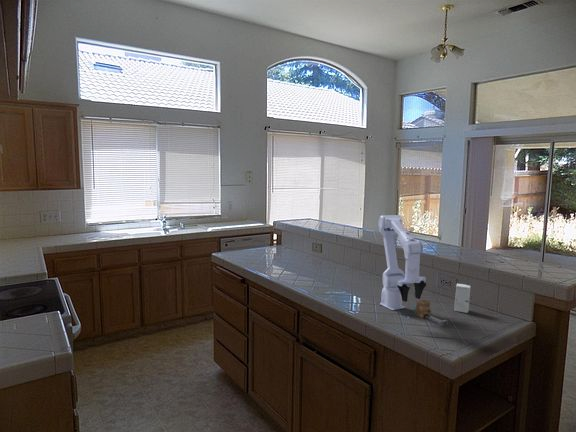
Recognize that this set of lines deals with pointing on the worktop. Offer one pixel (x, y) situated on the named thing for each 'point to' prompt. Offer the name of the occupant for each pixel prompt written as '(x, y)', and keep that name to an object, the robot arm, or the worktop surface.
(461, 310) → the skincare box
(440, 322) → the rail
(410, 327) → the worktop surface
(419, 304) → the keeper
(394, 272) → the robot arm
